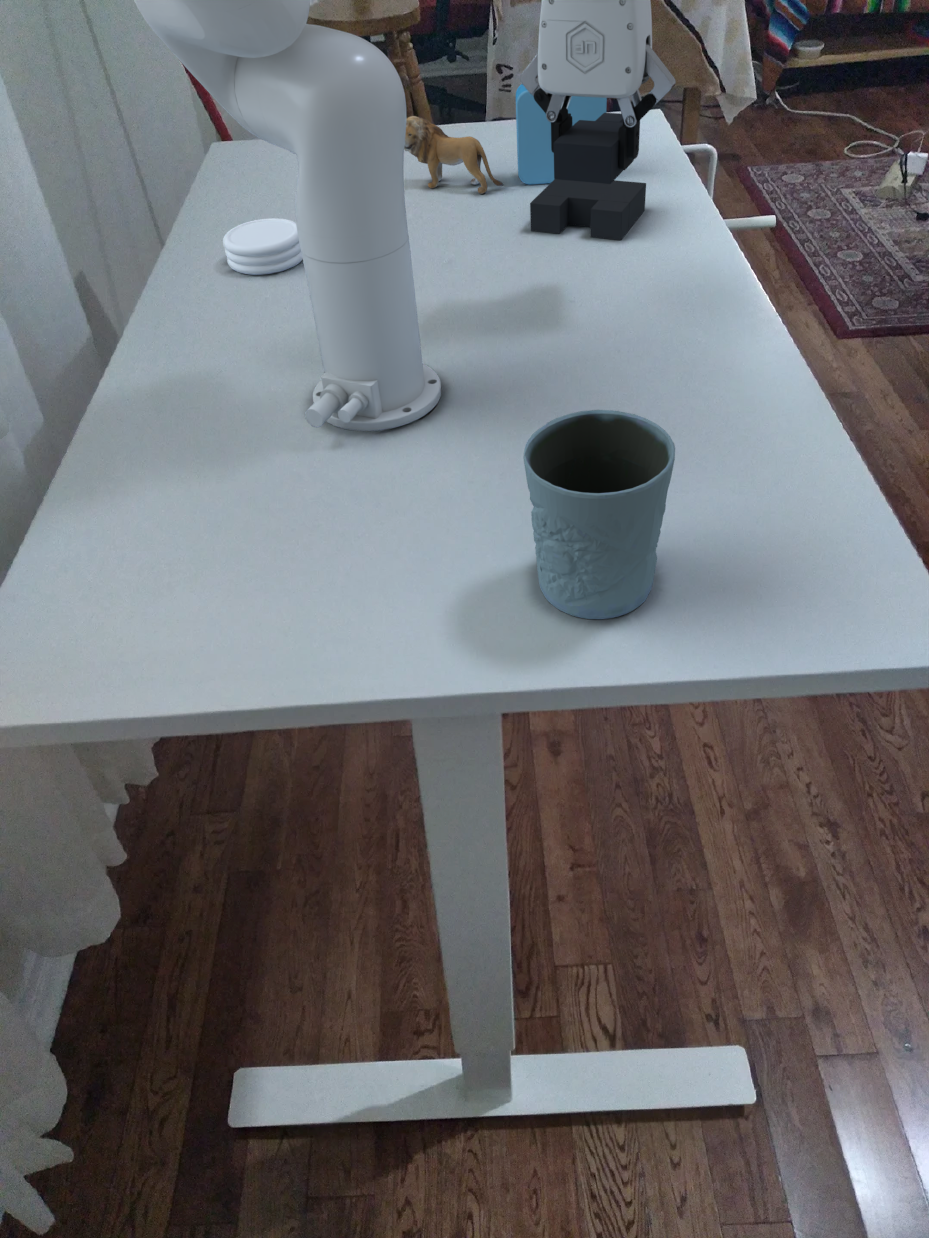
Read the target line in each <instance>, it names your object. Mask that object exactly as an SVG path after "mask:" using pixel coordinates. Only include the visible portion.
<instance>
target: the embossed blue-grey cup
mask: <svg viewBox="0 0 929 1238" xmlns="http://www.w3.org/2000/svg"><path fill="white" fill-rule="evenodd" d="M675 446H676V445H675V442H674V441H673V438H672V437H671V436H670V435H669V433H668V432H667V431H666V429H664V428H662V427H661V426H660V425H659V424H657V423H656V422H653V421H652V420H650V419H648V418H646V417H643V416H640V415H637V414H635V413H630V412H625V411H621V410H613V409H612V410H611V409H608V410H607V409H592V410H581V411H576V412H571V413H568V414H565V415H561V416H559V417H556V418H554V419H551V420H549V421H548V422H546V424H544V425H542V426H541V427H539V428H538V429H536V430H535V431H534V432H533V433H532V434H531V436H529V438H528V439H527V441H526V443H525V446H524V450H523V464H524V471H525V476H526V485H527V489H528V492H529V501H530V502H531V505H532V506H533V508H532V510H531V512H530V513H531V514H530V515H531V527H532V530H533V533H532V534H533V541H534V542H535V547H534V549H535V556H536V557H535V558H536V568H537V579H538V584H539V588H540V590H541V592H542V594H543V596H544V598H545V599H546V601H547V602H548V603H550V604H551V606H553V607H554V608H556V609H557V610H559V611H561V612H562V613H564V614H567V615H570V616H572V617H576V618H580V619H586V620H607V619H614V618H619V617H621V616H623V615H627V614H629V613H631V612H633V611H634V610H636V609H638V608H639V607H640V606H641V605H642V604H643V603H644V602H646V601H647V599H648V596H649V595H650V593H651V591H652V587H653V585H654V578H655V573H656V568H657V561H658V555H657V548H658V544H659V540H660V536H661V528H662V525H663V520H664V515H665V512H666V507H667V504H666V503H667V498H668V493H669V488H670V484H671V481H672V476H673V475H672V474H673V471H674V465H675V459H676V447H675Z"/></svg>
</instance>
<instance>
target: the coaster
mask: <svg viewBox="0 0 929 1238" xmlns="http://www.w3.org/2000/svg"><path fill="white" fill-rule="evenodd" d="M222 245H223V248H224V254H225V256H226V262H227V265H228V266H229V267H230V269H232V270H233V271H235V272H236V273H237V272H238V273H240V274H245V275H253V276H259V275H261V276H262V275H263V276H264V275H270V274H276V273H281V272H283V271H286V270H289V269H291V268H294V267H296V266H297V265H299V264H300V263H301V262H303V257H302V252H301V248H300V243H299V238H298V232H297V226H296V221H294V220H292V219H286V218H277V217H269V218H261V219H260V218H259V219H255V220H250V221H246V222H243V223H241V224H238V225H236V226H234V227H233V228H231V229H229V230H228V231H227V232H226V233H225V235H224V236H223V238H222Z"/></svg>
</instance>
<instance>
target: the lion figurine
mask: <svg viewBox="0 0 929 1238" xmlns="http://www.w3.org/2000/svg"><path fill="white" fill-rule="evenodd" d="M404 152H408V153H409V154H410V155H412V156H414V157H415V158H417V161H418V162H419V163H421V164H425V165H427V169H428V171H429V174H430V177H431V181H430V182H428V183H427V187H428V188H429V189H435V188H437V187H438V185H439V182H440V181H442V179H443V165H446V166H452V167H453V166H458V165H461V164H462V163H463V165H464V166H465V168H466V170H467V171H468V173H469V174H470V175H471V176H473V177H474V178H472V179H471V180H470V184H471V185H473V186H474V185H476V186H477V185H479V184H480V186H479V187H478V188H477V193H478V194H480V195H483V194H485V193H486V192H488V183H487V180H486V179H487V178H486V176H485V175H484V173H483V172H482V170H481V165H482V162H483V165H484V168H485V171H486V173H487V175H488V177H489V179H490V181H491V182H492V183H493V184H494V185H495V186H496V187H503V186H504V182H502V181H500V180H499V179H497V178H495V177H494V176H493V173H492V171H491V168H490V165H489V162H488V157H487V154H486V152H485V150H484V147H483V145H482V144H481V142H480V141H479V140H478V139H477V138H475V137H473V136H463V137H453V136H448V134H446V133H445V132H444V130H443V129H442V128H441V127H440V126H438V125H436V124H435V123H431V122H430V121H429V119H426V118H424V117H421V116H417V115H410V116H407V117H406V134H405V147H404Z"/></svg>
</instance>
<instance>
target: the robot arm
mask: <svg viewBox="0 0 929 1238" xmlns="http://www.w3.org/2000/svg"><path fill="white" fill-rule="evenodd" d="M133 2H134V4H135V6H136V8H137V10H138V11H139V13H140V15H141V16H142V18H143V19H144V21H145V22H146V24H147V25H148V27H149V28H150V30H151V31H152V32H153V33H154V34H155V35H156V36H157V37H158V38H159V40H160V41H161V42H162V43H163V44H164V45H165V46H166V47H167V49H168V50H169V51H170V52H171V53H172V54H173V55H174V56H175V58H177V59H178V61H179V62H180V63H181V64H182V65H183V67H185V69H186V70H188V72H189V73H190V74H191V75H192V76H193V77H194V78H195V80H197V82H198V83H199V84H200V85H201V86H202V87H203V88H204V89H205V90H206V91H207V92H208V94H210V95H211V97H212V98H213V99H214V100H215V101H216V103H218V104H219V106H220V107H222V108H223V109H224V111H226V112H227V114H228V115H229V116H230V117H231V118H232V119H234V121H235V122H236V123H237V124H238V125H240V127H242V128H243V129H244V130H246V131H247V132H248V133H250V134H252V135H253V136H254V137H256V138H258V139H259V140H261V141H264V142H266V143H268V144H271V145H273V146H275V147H278V148H281V149H283V150H286V151H288V152H289V153H292V154H293V155H295V157H296V160H297V179H296V180H297V181H296V188H295V196H294V197H295V198H294V215H295V216H294V217H295V222H296V226H297V232H298V238H299V243H300V248H301V252H302V257H303V260H302V262H303V267H304V273H305V278H306V283H307V288H308V295H309V299H310V305H311V309H312V316H313V321H314V326H315V332H316V337H317V342H318V343H317V344H318V349H319V353H320V358H321V359H320V360H321V364H322V369H323V374H321V376H320V380H319V381H318V382H317V383H316V385H315V387H314V388H313V391H312V402H313V404H311V405H310V406H309V407H308V408H307V409H306V410H305V412H304V419H305V420H306V422H307V423H308V424H309V425H310V426H311V427H314V428H322V426H323V425H324V424H326V423H327V424H328V423H329V424H330V425H332V426H333V427H337V428H340V429H344V430H348V431H355V432H356V431H357V432H358V431H359V432H374V431H375V432H377V431H384V430H390V429H395V428H398V427H402V426H406V425H408V424H410V423H413V422H415V421H417V420H419V419H421V418H423V417H425V416H426V415H427V414H428V413H430V412H431V411H432V410H433V409H434V408H435V407H436V406H437V404H438V403H439V401H440V400H441V397H442V383H441V378H440V376H439V374H438V373H437V372H436V371H435V370H434V369H433V368H432V367H430V366H428V365H427V364H425V363H423V354H422V353H423V352H422V346H421V345H422V344H421V337H420V327H419V318H418V309H417V300H416V292H415V291H416V290H415V280H414V271H413V270H414V269H413V262H412V253H411V245H410V235H409V229H408V219H407V218H408V217H407V209H406V198H405V182H404V181H405V180H404V173H405V171H404V165H405V164H404V163H405V150H404V147H405V134H406V119H407V102H406V101H407V100H406V94H405V89H404V86H403V82H402V79H401V77H400V74H399V73H398V71H397V69H396V67H395V66H394V64H393V62H391V60H390V59H389V57H388V56H387V55H386V53H384V52H383V51H382V50H380V49H379V48H378V47H377V46H376V45H375V44H373V43H372V42H369V40H366V39H365V38H363V37H360V36H358V35H355V34H354V33H350V32H348V31H344V30H338V29H336V28H332V27H331V28H330V27H328V26H323V25H319V24H310V23H307V22H308V19H309V15H310V9H311V0H133ZM652 19H653V18H652V3H651V0H541V4H540V15H539V25H538V27H539V28H538V43H537V53H536V55H535V56H534V57H533V58H532V60H531V61H530V63H528V65H527V66H526V67H525V68H524V69H523V71H522V72H521V73H520V75H519V78H518V79H519V82H520V83H521V84H523V86H524V87H525V88H526V89H527V90H528V91H529V93H530V94H532V95H533V96H534V100H535V101H536V103H537V104H538V105H539V106H540V107H541V109H542V110H543V111H544V112H545V113H546V118H547V120H548V121H549V122H551V150H552V152H553V153H554V142H555V141H556V140H557V139H558V138H559V137H561V136H562V135H563V134H564V133H565V132H566V131H567V130H569V129H570V128H571V127H572V116H571V114H570V113H568V109H567V108H568V106H569V103H570V100H571V97H572V96H581V97H600V98H607V99H616V101H617V104H618V107H619V110H620V114H622V117H623V125H622V126H621V127H620V128H619V131H618V140H619V148H618V168H619V170H623V171H626V170H627V169H628V168H629V166H631V164H632V163H634V161H635V160H636V158H637V157H638V156H639V152H640V134H641V133H640V132H641V120H642V119H643V118H644V117H645V116H646V115H647V114H648V113H649V112H650V111H651V110H652V109H653V108H654V107H655V106H656V105H657V104H658V103H659V102H660V101H661V100H662V99H663V98H664V97H665V96H666V95H667V94H668V93H669V92H670V91H671V90H672V89H673V88H675V85H676V78H675V77H674V75H673V74H672V73H671V72H670V69H668V67H667V66H666V65H665V64H664V62H663V61H662V60H661V58H660V57H659V56H658V54H657V53H656V52H655V50H653V21H652ZM650 79H651V80H652V82H653V87H652V89H650V91H649V92H648V93H647V94H646V95H645V96H644V97H643V98H642V96H641V93H640V88H641V86H642V85H644V84H646V83H647V82H648V81H649V80H650Z"/></svg>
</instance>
